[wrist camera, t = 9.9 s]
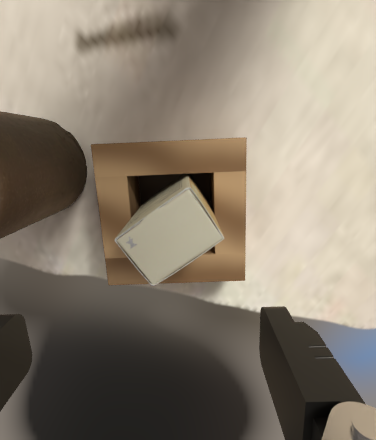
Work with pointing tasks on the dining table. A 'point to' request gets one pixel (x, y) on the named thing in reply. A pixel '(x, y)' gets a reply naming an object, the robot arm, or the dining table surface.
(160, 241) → the skincare box
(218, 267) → the socket block
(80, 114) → the dining table surface
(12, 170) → the pillar candle
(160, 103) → the dining table surface
